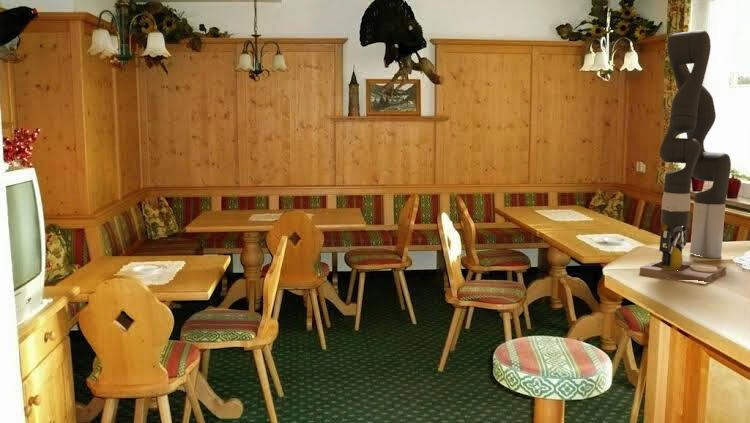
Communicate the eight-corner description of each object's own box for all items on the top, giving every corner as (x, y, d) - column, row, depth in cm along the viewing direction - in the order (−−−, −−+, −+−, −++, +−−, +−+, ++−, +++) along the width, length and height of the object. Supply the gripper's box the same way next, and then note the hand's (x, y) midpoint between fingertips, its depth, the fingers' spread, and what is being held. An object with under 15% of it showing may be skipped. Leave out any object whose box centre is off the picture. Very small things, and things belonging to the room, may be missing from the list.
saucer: (694, 265, 216) (695, 262, 216) (720, 269, 212) (720, 266, 212) (686, 269, 211) (686, 266, 211) (712, 273, 206) (712, 270, 206)
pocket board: (663, 264, 227) (663, 257, 227) (725, 273, 215) (726, 267, 215) (639, 274, 214) (640, 267, 213) (704, 285, 202) (705, 277, 202)
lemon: (683, 275, 212) (685, 248, 211) (662, 274, 213) (664, 247, 212) (679, 271, 218) (681, 244, 217) (659, 270, 219) (661, 243, 218)
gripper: (671, 204, 220) (667, 258, 223) (653, 209, 210) (649, 265, 212) (697, 207, 216) (693, 261, 218) (680, 212, 205) (675, 269, 207)
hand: (671, 263), depth 215 cm, fingers open, 8 cm apart
